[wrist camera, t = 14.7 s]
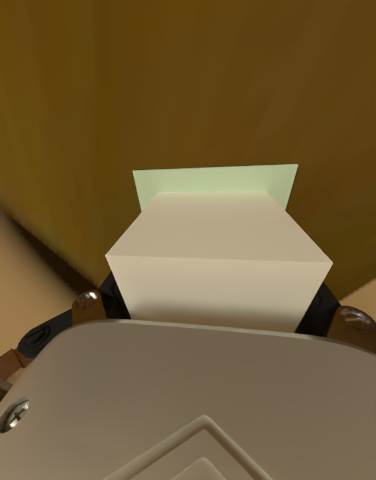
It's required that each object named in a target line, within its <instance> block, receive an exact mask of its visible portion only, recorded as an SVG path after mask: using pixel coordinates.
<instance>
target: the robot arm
mask: <svg viewBox="0 0 376 480" xmlns="http://www.w3.org/2000/svg"><path fill="white" fill-rule="evenodd" d="M0 480H376V322H375V321H374V320H373V319H372V318H371V317H370V316H368V315H367V314H366V313H365V312H363V311H361V310H359V309H357V308H354V307H350V306H341V305H340V303H339V302H338V301H337V299H336V298H335V297H334V295H333V294H332V293H331V291H330V290H329V289H328V287H327V286H326V285H325V283H324V282H322V284H321V286H320V287H319V289H318V291H317V293H316V295H315V296H314V298H313V300H312V302H311V303H310V305H309V307H308V309H307V311H306V312H305V314H304V316H303V318H302V319H301V321H300V323H299V325H298V327H297V328H296V330H295V332H294V333H287V332H277V331H266V330H254V329H243V328H231V327H219V326H207V325H195V324H183V323H170V322H157V321H144V320H131V316H130V314H129V311H128V309H127V307H126V304H125V302H124V299H123V297H122V294H121V292H120V290H119V287H118V285H117V282H116V280H115V278H114V275H113V273H112V271H111V272H110V274H109V275H108V277H107V278H106V279H105V281H104V282H103V284H102V285H101V286H100V288H99V289H98V291H93V290H92V291H88V292H85V293H83V294H81V295H80V296H78V297H77V298H76V299H75V300H74V302H73V304H72V309H70V310H68V311H66V312H64V313H62V314H60V315H58V316H56V317H54V318H52V319H50V320H48V321H46V322H45V323H43V324H41V325H39V326H37V327H35V328H33V329H32V330H30V331H29V332H28V333H27V334H26V335H25V336H24V337H23V338H22V339H21V341H20V342H19V344H18V347H17V348H16V349H15V350H13V349H10V350H9V351H7V352H6V353H5V354H3V355H2V356H0Z"/></svg>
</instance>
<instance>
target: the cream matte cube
mask: <svg viewBox="0 0 376 480" xmlns="http://www.w3.org/2000/svg"><path fill="white" fill-rule="evenodd" d="M105 256H106V258H107V261H108V263H109V266H110V268H111V270H112V273H113V275H114V278H115V280H116V282H117V285H118V287H119V290H120V292H121V294H122V297H123V299H124V302H125V304H126V307H127V309H128V311H129V314H130V316H131V319H132V320H144V321H157V322H170V323H183V324H195V325H207V326H219V327H231V328H243V329H254V330H266V331H277V332H287V333H294V332H295V330H296V328H297V327H298V325H299V323H300V321H301V319H302V318H303V316H304V314H305V312H306V311H307V309H308V307H309V305H310V303H311V302H312V300H313V298H314V296H315V295H316V293H317V291H318V289H319V287H320V286H321V284H322V282H323V280H324V278H325V277H326V275H327V273H328V271H329V270H330V268H331V266H332V264H333V262H332V261H331V260H330V259H329V258H328V257H327V256H326V255H325V254H324V252H323V251H322V250H321V249H320V248H319V247H318V246H317V245H316V244H315V243H314V242H313V241H312V240H311V238H310V237H309V236H308V235H307V234H306V233H305V232H304V231H303V230H302V229H301V228H300V227H299V226H298V224H297V223H296V222H295V221H294V220H293V219H292V218H291V217H290V216H289V215H288V214H287V213H286V211H285V210H284V209H283V208H282V207H281V206H280V205H279V204H278V203H277V202H276V201H275V200H274V199H273V197H272V196H271V195H270V194H269V193H268V192H267V191H215V192H159V193H158V194H157V195H156V196H155V198H154V199H153V200H152V201H151V202H150V203H149V205H148V206H147V207H146V208H145V209H144V210H143V212H142V213H141V214H140V215H139V216H138V217H137V219H136V220H135V221H134V222H133V223H132V225H131V226H130V227H129V228H128V229H127V230H126V232H125V233H124V234H123V235H122V236H121V237H120V239H119V240H118V241H117V242H116V243H115V244H114V246H113V247H112V248H111V249H110V250H109V251H108V253H107V254H106V255H105Z"/></svg>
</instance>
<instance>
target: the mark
mask: <svg viewBox="0 0 376 480" xmlns="http://www.w3.org/2000/svg"><path fill="white" fill-rule="evenodd" d="M297 167H298V164H287V165H262V166H236V167H211V168H185V169H160V170H134V171H133V175H134V179H135V184H136V188H137V193H138V197H139V202H140V206H141V210H142V212H143V210H144V209H145V208H146V207H147V206H148V205H149V203H150V202H151V201H152V200H153V199H154V198H155V196H156V195H157V194H158V193H159V192H215V191H267V192H268V193H269V194H270V195H271V196H272V197H273V199H274V200H275V201H276V202H277V203H278V204H279V205H280V206H281V207H282V208H283V209H284V210H286V206H287V202H288V199H289V195H290V192H291V188H292V185H293V181H294V178H295V174H296V171H297Z"/></svg>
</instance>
